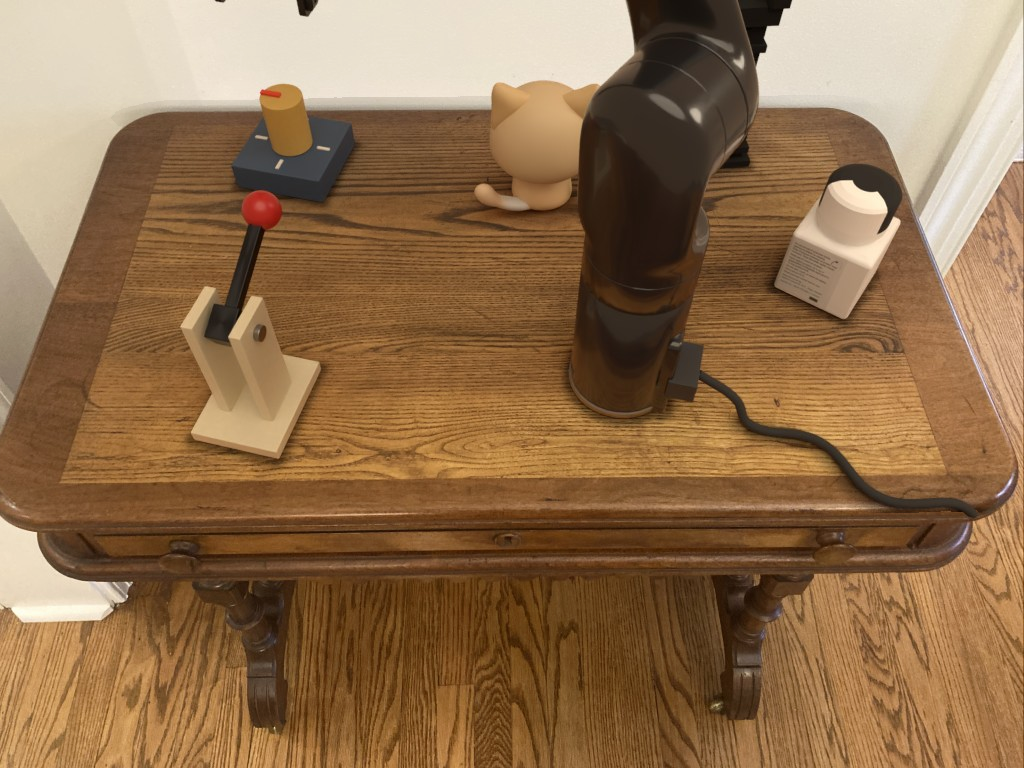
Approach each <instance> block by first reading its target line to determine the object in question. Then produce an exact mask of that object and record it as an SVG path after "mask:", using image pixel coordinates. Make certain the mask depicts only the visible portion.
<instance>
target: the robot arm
mask: <svg viewBox="0 0 1024 768" xmlns="http://www.w3.org/2000/svg"><path fill="white" fill-rule="evenodd" d="M214 2H216V3H222V4H224V3H225V2H226V0H214ZM295 2H296V5H297V10H298V14H299V16H300V17H306V18H308V17H309V16H310V15H311V14H312V12H313V11H314V10H315V8H316V7H317V5H318V4H319V0H296V1H295ZM625 4H626V5H625V6H626V9H627V13H628V17H629V22H630V28H631V34H632V41H633V55H632V56H631V57H630V58H628V59H627V60H626V62H624V63H623V64H622V65H621V66H620V67H618V69H617V70H616V71H614V72H613V74H611V76H609V78H607V79H606V80H605V81H604V82H603V83H602V84H601V85H600V87H599V88H598V89H597V90H596V92H595V93H594V94H593V96H592V97H591V99H590V101H589V103H588V105H587V108H586V111H585V114H584V118H583V122H582V127H581V133H580V143H579V164H578V174H577V193H576V194H577V195H576V196H577V197H576V202H577V203H576V204H577V205H576V207H577V213H578V219H579V222H580V225H581V227H582V229H583V231H584V238H583V245H582V246H583V248H582V257H581V264H580V274H579V282H578V283H579V284H578V293H577V301H576V309H575V320H574V329H573V337H572V348H571V353H570V359H569V365H568V366H569V367H568V381H569V384H570V387H571V389H572V391H573V393H574V395H575V396H576V397H577V398H578V400H579V401H580V402H581V403H582V404H583V405H584V406H585V407H588V408H589V409H590V410H592V411H594V412H596V413H597V414H600V415H603V416H604V417H605V416H606V417H610V418H616V419H631V418H638V417H641V416H644V415H647V414H648V413H650V412H656V413H664V412H665V410H666V407H667V403H668V400H669V399H673V400H677V401H678V400H679V401H683V402H689V403H693V402H694V400H695V397H696V393H697V390H698V388H699V387H698V386H699V382H701V383H703V384H705V385H706V386H708V387H710V388H711V389H713V390H715V391H717V392H719V393H720V394H721V395H723V396H724V397H725V398H727V399H728V400H729V401H730V402H731V403H732V404H733V406H734V407H735V410H736V415H737V418H738V420H739V421H740V423H741V424H742V426H743V427H745V428H747V429H748V430H750V431H751V432H753V433H755V434H758V435H762V436H765V437H772V438H781V439H792V440H799V441H805V442H807V443H811V444H813V445H815V446H817V447H818V448H820V449H821V450H823V451H824V452H825V453H827V454H828V455H829V456H830V457H831V458H832V459H833V461H834V462H835V463H836V464H837V465H838V467H839V468H840V469H841V471H842V472H843V473H844V474H845V476H846V477H847V478H848V479H849V480H850V482H851V483H852V484H853V485H854V486H855V487H856V488H857V489H858V490H859V491H860V492H861V493H863V494H864V495H865V496H866V497H868V498H869V499H871V500H873V501H875V502H876V503H878V504H882V505H885V506H887V507H891V508H895V509H896V508H897V509H903V510H924V509H938V508H939V509H941V508H944V509H945V508H946V509H954V510H959V511H960V512H962V513H964V515H965V516H967V517H968V518H971V519H977V517H978V516H979V515H978V512H977V510H976V509H975V508H974V507H973V506H972V505H971V504H969V503H967V502H966V501H964V500H963V499H959V498H955V497H926V498H902V497H901V498H900V497H895V496H892V495H889V494H885V493H883V492H880V491H879V490H878V489H876V488H874V487H873V486H871V485H870V484H869V483H868V482H867V481H865V479H864V478H862V476H861V475H860V474H859V473H858V472H857V470H856V469H855V468H854V467H853V465H852V464H851V463H850V461H849V460H848V459H847V458H846V457H845V455H844V454H843V453H842V452H841V451H840V450H839V449H838V448H837V447H836V446H835V445H833V444H832V443H831V442H830V441H828V440H827V439H825V438H823V437H822V436H819V435H818V434H815V433H813V432H810V431H806V430H801V429H796V428H782V427H774V426H773V427H772V426H767V425H763V424H760V423H758V422H756V421H754V420H753V419H752V418H750V417H749V415H748V412H747V408H746V404H745V403H744V401H743V399H742V398H741V396H739V394H738V393H736V392H735V391H734V390H733V389H732V388H731V387H729V386H728V385H727V384H726V383H723V382H722V381H720V380H719V379H717V378H715V377H713V376H712V375H710V374H708V373H706V372H705V371H704V370H702V369H701V366H702V360H703V354H704V349H705V346H704V344H698V343H693V342H689V341H684V340H685V335H686V334H685V333H686V328H687V322H688V318H689V314H690V311H691V307H692V304H693V300H694V297H695V293H696V290H697V285H698V282H699V278H700V274H701V272H702V271H701V270H702V267H703V264H704V260H705V256H706V253H707V250H708V247H709V242H710V237H711V225H710V219H709V217H708V214H707V212H706V211H705V208H704V207H703V206H702V205H703V200H704V197H705V194H706V190H707V187H708V185H709V182H710V181H711V179H712V178H713V177H714V176H715V175H716V174H717V172H718V171H719V170H720V169H721V168H720V167H721V166H722V165H723V164H724V163H725V161H726V160H727V159H728V158H729V157H730V156H731V154H732V153H733V152H734V151H735V150H736V149H737V148H738V146H739V145H740V144H741V143H742V141H743V140H744V138H745V137H746V135H747V134H748V135H749V132H750V131H751V129H752V127H753V125H754V122H755V120H756V118H757V117H756V116H757V113H758V109H759V105H760V85H759V77H758V71H757V66H755V61H754V57H753V53H752V49H751V46H750V42H749V38H748V35H747V31H746V28H745V24H744V21H743V17H742V14H741V11H740V7H739V4H738V0H625ZM748 135H747V136H748Z"/></svg>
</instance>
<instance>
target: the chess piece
mask: <svg viewBox="0 0 1024 768" xmlns="http://www.w3.org/2000/svg"><path fill="white" fill-rule="evenodd" d="M792 2H793V0H738V4H739V7H740V11H741V14H742V17H743V21H744V24H745V28H746V31H747V35H748V38H749V42H750V46H751V49H752V53H753V57H754V61H755V66H756V67H757V65H758V61H759V59H760V55H761V54H766V53H767V49H768V43H767V41H766V40H765V39H766V38H765V36H766V32H767V29H768V27H779V26H780V24H781V20H782V17H783V14H784V10H788V9H791V6H792ZM748 135H749V133H748V134H747V135H746V137H745V138H744V140H743V141H742V143H741V144H740V145H739V146H738V148H737V149H736V150H735V151H734V152H733V153H732V154H731V156H730V157H729V158H728V159H727V160H726V161H725V163H724V164H723V165H722V166H721V167H720V169H729V168H730V169H731V168H744V167H749V166H750V163H751V159H750V157H749V154H748V153H749V149H750V145H749V143H748V141H747V138H748Z"/></svg>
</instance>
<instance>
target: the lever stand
mask: <svg viewBox="0 0 1024 768" xmlns="http://www.w3.org/2000/svg"><path fill="white" fill-rule="evenodd" d="M214 304H220V305H224V304H223V302H222V299H221V296H220V294H219V292H218V290H217V288H216V287H212V286H207V285H205V286H204V287H203V289H202V290H201V292H200V293H199V295H198V297H197V299H196V300H195V301H194V303H193V305H192V307H191V308H190V310H189V311H188V313H187V315H186V316H185V318H184V319H183V321H182V323H181V324H180V325H179V327H180V330H181V332H182V334H183V336H184V339H185V340H186V342H187V345H188V347H189V348H190V350H191V351H190V352H191V353H192V355H193V357H194V359H195V361H196V363H197V365H198V367H199V369H200V371H201V373H202V375H203V377H204V379H205V382H206V384H207V385H208V387H209V390H210V391H211V395H210V397H209V398H208V400H207V402H206V403H205V405H204V407H203V409H202V411H201V413H200V414H199V416H198V418H197V420H196V421H195V424H194V425H193V427H192V429H191V431H190V434H191V437H192V438H193V440H195V441H197V442H203V443H207V444H212V445H215V446H221V447H224V448H229V449H233V450H238V451H243V452H245V453H250V454H255V455H258V456H259V455H260V456H264V457H267V458H272V459H277V460H279V459H280V458H281V456H282V453H283V452H284V450H285V447H286V445H287V443H288V441H289V438H290V436H291V434H292V432H293V431H294V429H295V427H296V424H297V422H298V420H299V418H300V415H301V414H302V411H303V409H304V408H305V407H304V406H305V405H306V403H307V400H308V398H309V396H310V395H311V392H312V389H313V388H314V386H315V384H316V382H317V380H318V377H319V375H320V373H321V372H322V367H321V364H320V361H317V360H312V359H307V358H302V357H298V356H294V355H288V354H284V353H283V352H282V349H281V347H280V344H279V341H278V338H277V335H276V332H275V329H274V326H273V323H272V320H271V317H270V315H269V312H268V308H267V306H266V303H265V301H264V297H262V296H256V295H251V296H250V297H249V299H248V301H247V303H246V304H245V306H244V307H243V309H242V313H241V315H240V317H239V319H238V320H237V322H236V324H235V326H234V327H233V329H232V331H231V333H230V334H229V336H228V338H229V340H230V343H231V345H232V347H229V346H224V345H220V344H216V343H214V342H213V341H211V340H209V339H207V338H205V337H204V335H205V331H206V328H207V325H208V321H209V318H210V315H211V311H212V308H213V305H214Z"/></svg>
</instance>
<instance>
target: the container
mask: <svg viewBox="0 0 1024 768" xmlns="http://www.w3.org/2000/svg"><path fill="white" fill-rule="evenodd" d="M902 201H903V190H902V187H901V186H900V183H899V182H898V181H897V179H896V178H895V177H894V176H893V175H892V174H890V173H889V172H888V171H886V170H884V169H882V168H880V167H878V166H875V165H872V164H868V163H850V164H846V165H843V166H840V167H838V168H836V169H835V170H834V171H833V172H831V174H830V175H829V177H828V179H827V181H826V183H825V186H824V189H823V192H822V193H821V194H820V196H819V197H818V199H816V201H815V203H814V204H813V205H812V207H811V208H810V210H809V211H808V212H807V214H806V215H805V217H804V218H803V219H802V221H801V222H800V223H799V225H798V226H797V227H796V229H795V230H794V232H793V234H792V236H791V239H790V241H789V244H788V246H787V249H786V252H785V254H784V257H783V260H782V263H781V265H780V266H779V270H778V272H777V276H776V278H775V280H774V287H775V288H776V289H778V290H780V291H783V292H785V293H787V294H789V295H791V296H793V297H795V298H797V299H800V300H801V301H803V302H805V303H808V304H810V305H812V306H814V307H816V308H818V309H820V310H822V311H825V312H826V313H828V314H831V315H833V316H835V317H837V318H839V319H841V320H846V319H847V318H848V317H849V315H850V314H851V312H852V311H853V309H854V307H856V304H857V302H858V301H859V299H860V298H861V296H862V295H863V294H864V292H865V290H866V289H867V287H868V285H869V283H870V282H871V280H872V279H873V277H874V276H875V274H876V272H877V270H878V268H879V266H880V264H881V262H882V261H883V259H884V257H885V254H886V252H887V251H888V249H889V247H890V245H891V243H892V241H893V239H894V237H895V235H896V233H897V231H898V229H899V227H900V226H901V220H900V218H898V217H896V216H895V215H896V213H897V211H898V209H899V207H900V205H901V203H902Z"/></svg>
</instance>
